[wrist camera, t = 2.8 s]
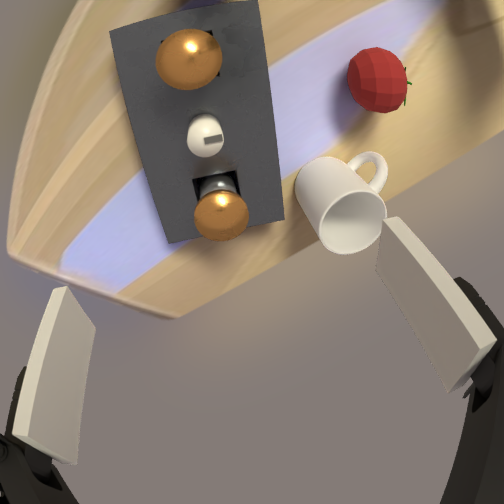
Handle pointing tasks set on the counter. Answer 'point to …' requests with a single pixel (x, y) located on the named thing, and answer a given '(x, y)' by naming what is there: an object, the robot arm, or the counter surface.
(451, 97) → the counter surface
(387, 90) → the tomato
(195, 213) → the knob
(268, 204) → the console
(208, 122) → the dial
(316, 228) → the mug
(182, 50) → the knob
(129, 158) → the counter surface
